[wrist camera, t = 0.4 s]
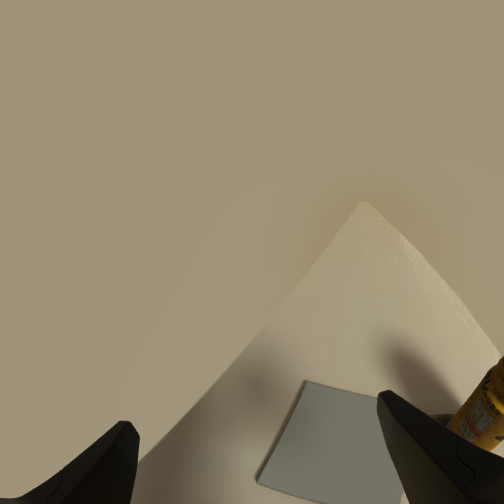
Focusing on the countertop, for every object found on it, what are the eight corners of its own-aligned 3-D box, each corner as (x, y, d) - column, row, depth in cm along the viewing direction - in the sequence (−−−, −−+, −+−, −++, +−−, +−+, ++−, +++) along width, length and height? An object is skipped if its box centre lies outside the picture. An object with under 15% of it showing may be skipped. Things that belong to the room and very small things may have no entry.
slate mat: (393, 515, 13) (396, 514, 13) (256, 483, 18) (256, 481, 17) (414, 409, 23) (417, 406, 22) (306, 384, 27) (307, 381, 27)
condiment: (489, 467, 14) (568, 390, 8) (419, 479, 16) (498, 406, 10) (479, 412, 20) (538, 329, 14) (416, 416, 22) (471, 329, 16)
